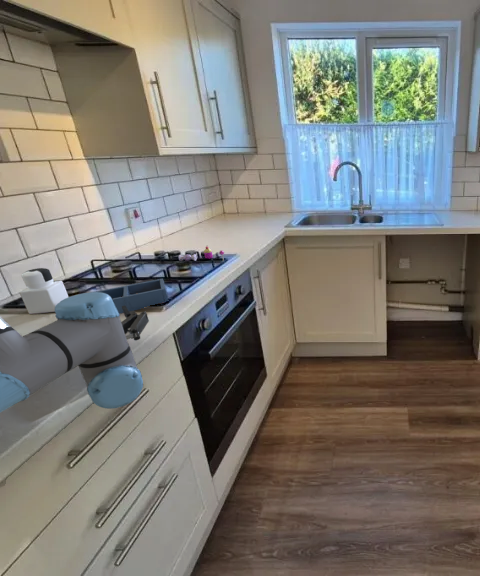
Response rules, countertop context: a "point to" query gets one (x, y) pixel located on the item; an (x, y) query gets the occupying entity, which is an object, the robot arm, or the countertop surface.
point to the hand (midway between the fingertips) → (91, 319)
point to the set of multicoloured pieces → (188, 257)
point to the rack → (138, 295)
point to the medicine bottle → (41, 291)
